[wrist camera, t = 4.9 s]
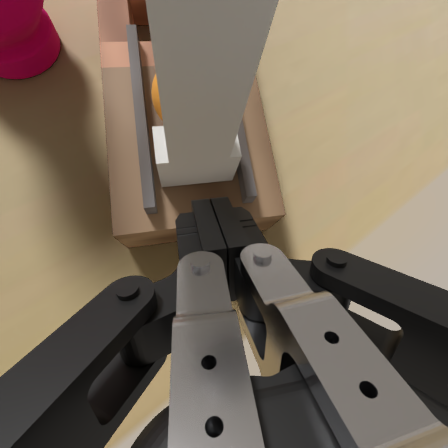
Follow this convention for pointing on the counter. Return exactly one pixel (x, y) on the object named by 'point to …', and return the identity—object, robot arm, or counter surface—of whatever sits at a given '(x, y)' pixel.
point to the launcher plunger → (204, 82)
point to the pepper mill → (26, 39)
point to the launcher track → (144, 145)
